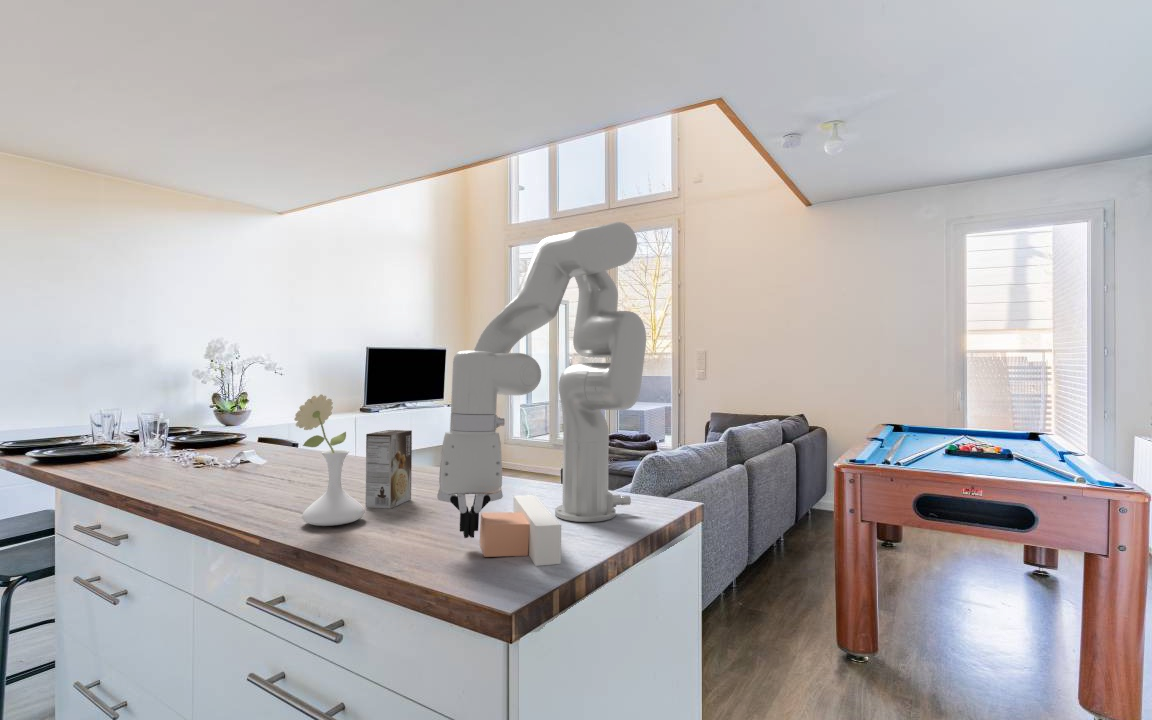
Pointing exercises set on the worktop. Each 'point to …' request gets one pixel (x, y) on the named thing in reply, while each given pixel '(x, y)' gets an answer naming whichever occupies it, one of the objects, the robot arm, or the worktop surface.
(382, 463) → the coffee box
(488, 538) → the peach block
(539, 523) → the board
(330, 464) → the flower in vase
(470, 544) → the worktop surface
